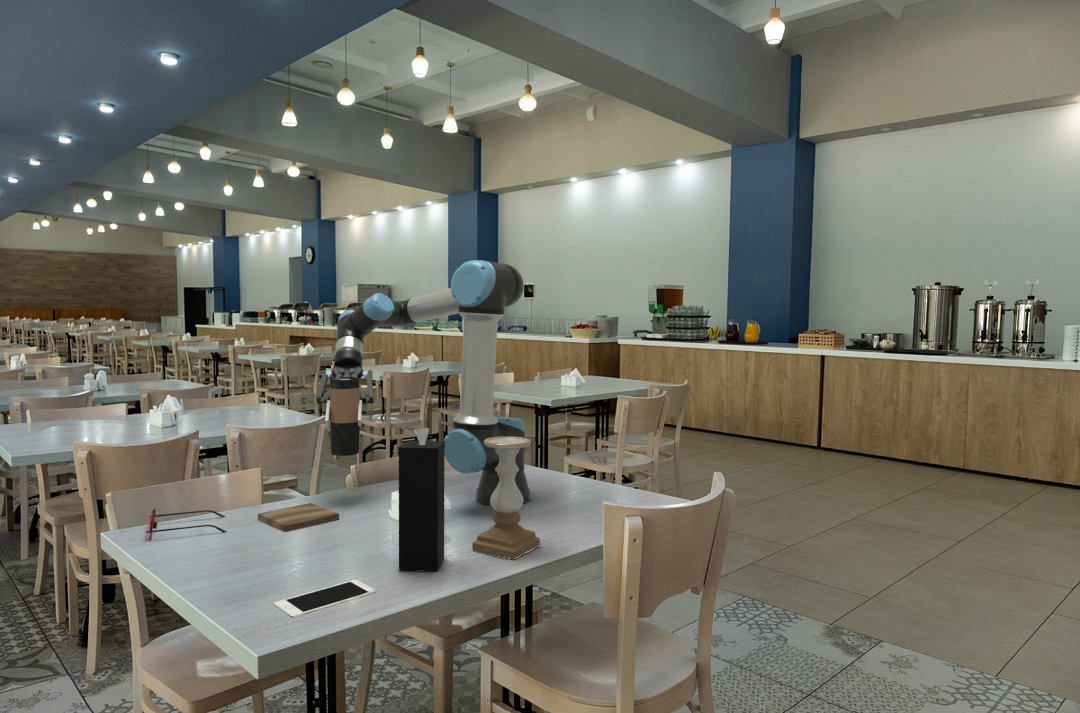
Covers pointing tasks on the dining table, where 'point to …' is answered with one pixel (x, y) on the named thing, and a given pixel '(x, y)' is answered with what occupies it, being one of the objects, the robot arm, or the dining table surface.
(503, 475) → the candle holder
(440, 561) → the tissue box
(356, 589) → the cell phone
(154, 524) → the glasses
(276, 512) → the walnut board
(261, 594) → the dining table surface
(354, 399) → the travel mug
